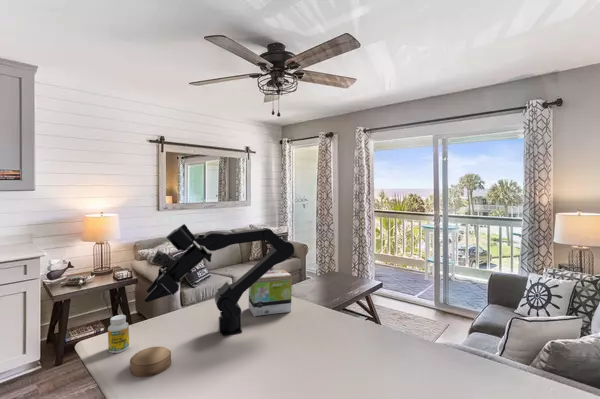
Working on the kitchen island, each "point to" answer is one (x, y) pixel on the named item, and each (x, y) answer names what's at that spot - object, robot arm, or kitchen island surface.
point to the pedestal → (150, 361)
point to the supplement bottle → (118, 334)
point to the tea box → (271, 293)
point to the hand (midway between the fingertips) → (146, 296)
